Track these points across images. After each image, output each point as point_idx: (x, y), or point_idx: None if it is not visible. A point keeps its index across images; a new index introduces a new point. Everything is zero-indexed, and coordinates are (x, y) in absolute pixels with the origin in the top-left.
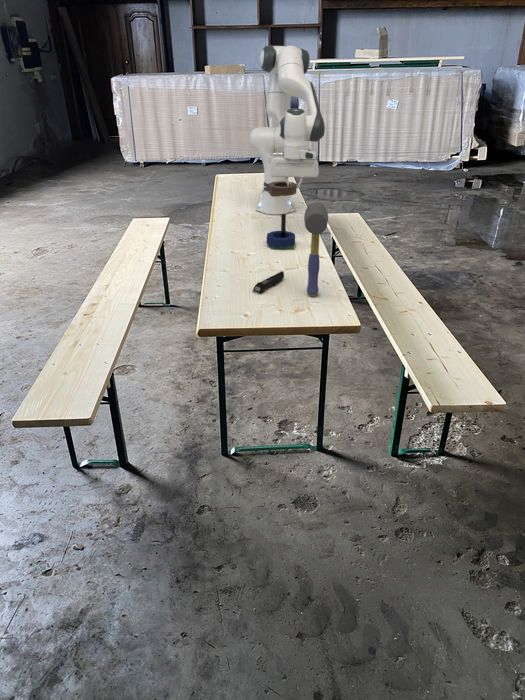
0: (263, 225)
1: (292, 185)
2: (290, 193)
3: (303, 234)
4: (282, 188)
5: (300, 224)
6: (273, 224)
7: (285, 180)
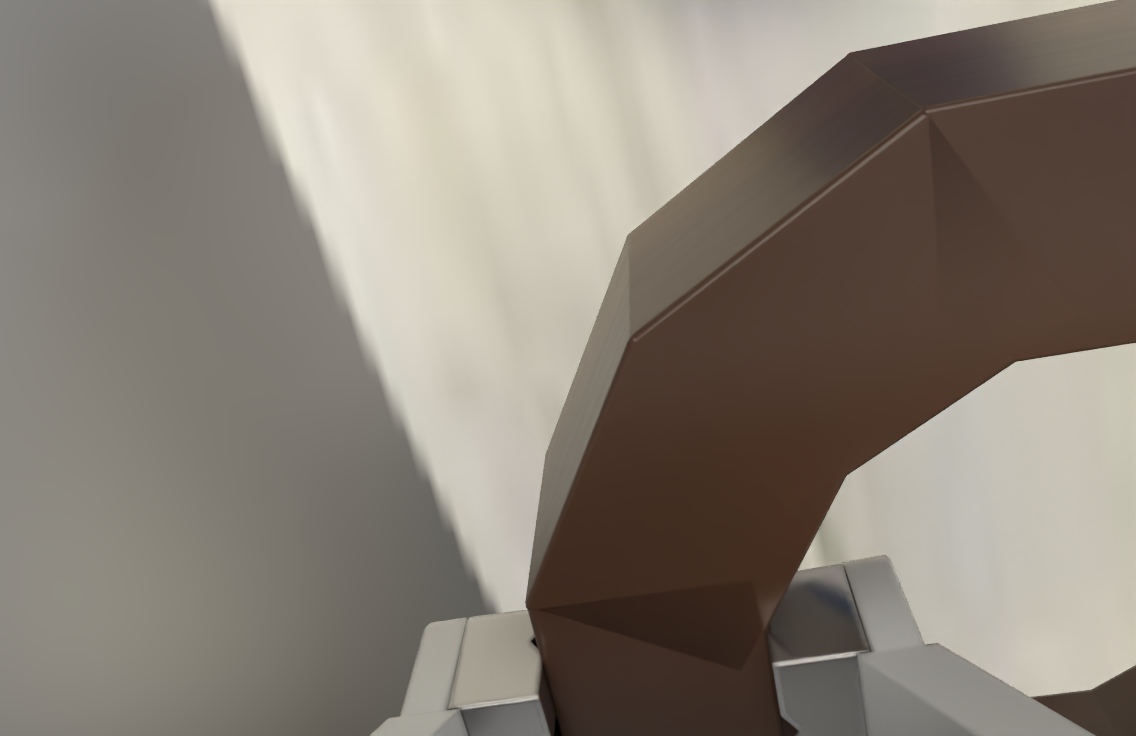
0: (1120, 532)
1: (690, 600)
2: (690, 200)
3: (502, 302)
4: (1089, 74)
5: None
6: (984, 595)
7: (1070, 726)
